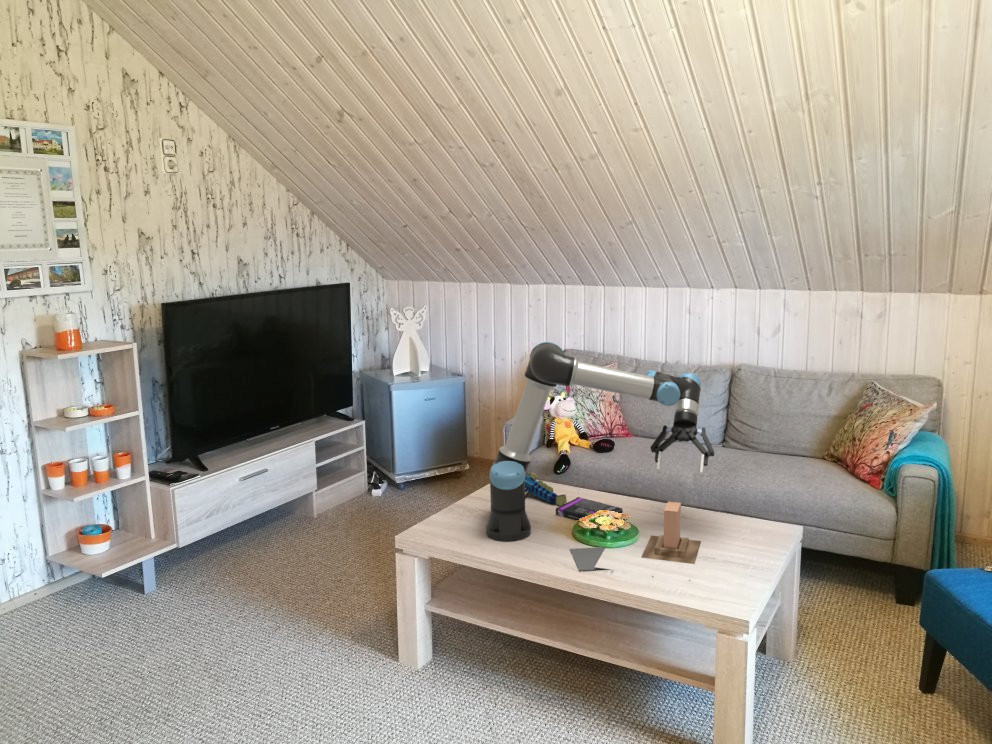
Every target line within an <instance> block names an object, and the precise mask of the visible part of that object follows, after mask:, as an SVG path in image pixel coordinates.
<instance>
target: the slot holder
mask: <svg viewBox="0 0 992 744" xmlns="http://www.w3.org/2000/svg"><path fill="white" fill-rule="evenodd" d="M701 543H702V540H697V539H695V540H693V539H689V537H682V536H680V546H679V549H678V550H677V549H669V548H664V534H660V535H650V536H649V539H648V542H647V543H646V545H645V548H644V550H643V553H642V555H641V558H642V559H651V560H658V561H659V560H660V561H666V562H667V561H668V562H673V563H674V562H675V563H683V564H691V565H696V560H697V557H698V554H699V551H700V550H699V549H700V548H701V547H700V546H701Z"/></svg>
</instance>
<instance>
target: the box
mask: <svg viewBox="0 0 992 744" xmlns="http://www.w3.org/2000/svg"><path fill="white" fill-rule="evenodd" d="M599 510H609V511H615V512H618V513H623V512H624V511H623V508H622V507H619V506H616V505H615V506H614V505H611V504H607V503H603V502H599V501H595V500H591V499H587V498H583V497H580V496H578V497H576V498H574V499H572V500H570V501H567V503H565V504H564V505H562V506H557V507H556V508H555V515H556V516H558V517H562V518H566V519H570V520H572V521H576V520H579V519H580V518H582V517H585V516H588V515H590V514H593V513H595V512H597V511H599Z"/></svg>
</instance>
